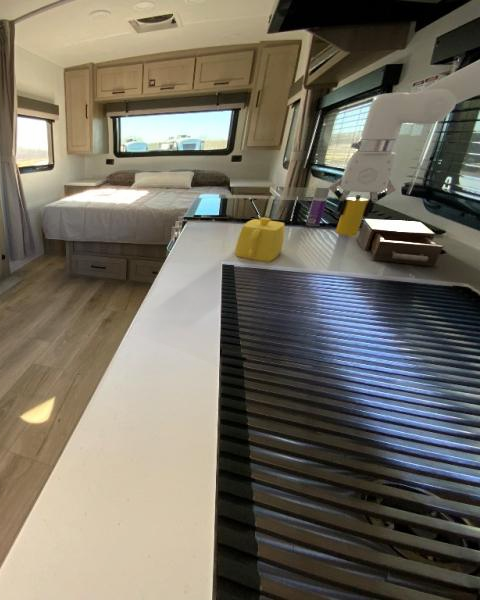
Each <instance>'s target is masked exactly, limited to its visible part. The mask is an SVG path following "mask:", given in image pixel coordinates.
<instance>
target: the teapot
mask: <svg viewBox="0 0 480 600" xmlns="http://www.w3.org/2000/svg"><path fill="white" fill-rule="evenodd" d="M284 239H285V222H282V221H275V220H272V219H271V218H269V217H259V219H257V218H254V219H253V218H252V219H251V220H248V221H246V223H244V224H243V225H242V227H241V230H240V233H239V235H238V238H237V241H236V245H235V256H236V257H238V258H243V259H248V260H253V261H260V262H264V263H269V262H272V261H273V260H275V259H277V257H278V256H279V255H280V253H281V251H282V249H283V245H284Z"/></svg>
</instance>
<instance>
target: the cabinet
mask: <svg viewBox="0 0 480 600" xmlns="http://www.w3.org/2000/svg"><path fill="white" fill-rule="evenodd" d="M362 221H363V222H362V224H361V227H360V230H359V233H358V235H357V239H356V240H357V242H358V244H359V246H360V248H361V250H363V251H366V252H372V251H371V249H370V248H369V245H370V242H371V240H372V237H373V234H374V232H384V233H397V234H410V235H423V236H427V237H428V238H429V239H431V240H432V241H433V240H434V238H435V237H436V233H435V232H433V231H432V230H431V229H430V228H428V227H427V226H426V225H425V224H423V222H420V221H408V220H407V221H406V220H393V219H392V220H391V219H375V218H364V219H363V220H362Z"/></svg>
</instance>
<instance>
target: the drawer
mask: <svg viewBox="0 0 480 600" xmlns="http://www.w3.org/2000/svg"><path fill="white" fill-rule="evenodd" d="M369 248H370V249H371V251H370V252H371V253H372V255H373V256H372V260H373V261H379V262H388V263H389V262H390V263H399V264H406V265H407V264H408V265H417V266H426V267H435V265H436V263H437V260H438V259H439V257H440V254H441V253H442V250H443V248H444V246H443V245H441V244H437V243H435V242H434V241H433V240H431V239H429V238H428V237H427V236H423V235H410V234H397V233H384V232H374V234H373V237H372V240H371V242H370V245H369Z"/></svg>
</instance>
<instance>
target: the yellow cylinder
mask: <svg viewBox="0 0 480 600" xmlns="http://www.w3.org/2000/svg"><path fill="white" fill-rule="evenodd" d="M361 196H362V195H361V194H356V195H355V197H354V196H353V197H351V196H350V197H346V200H345V201H346V204H345V207H344V210H343V213H342V215H339V220H338V223H337V226H336V229H335V234H337V235H341V236H351V237H352V236H358V235H357V234H358V232H359V228H361V227H360V226H361V225H362V224H361V223H362V221H363V218H364V216H363V215H364V213H365V210H366V207H367V204H368V201H369V199H370V198H365V197H361Z"/></svg>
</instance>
